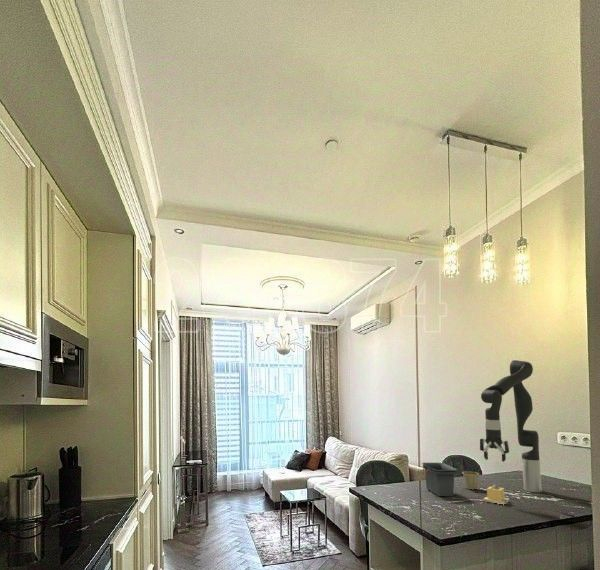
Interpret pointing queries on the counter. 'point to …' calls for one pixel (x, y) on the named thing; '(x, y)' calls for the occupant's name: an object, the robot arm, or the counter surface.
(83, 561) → the counter surface
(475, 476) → the flower pot
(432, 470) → the storage bin
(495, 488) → the post stand
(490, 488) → the ring
